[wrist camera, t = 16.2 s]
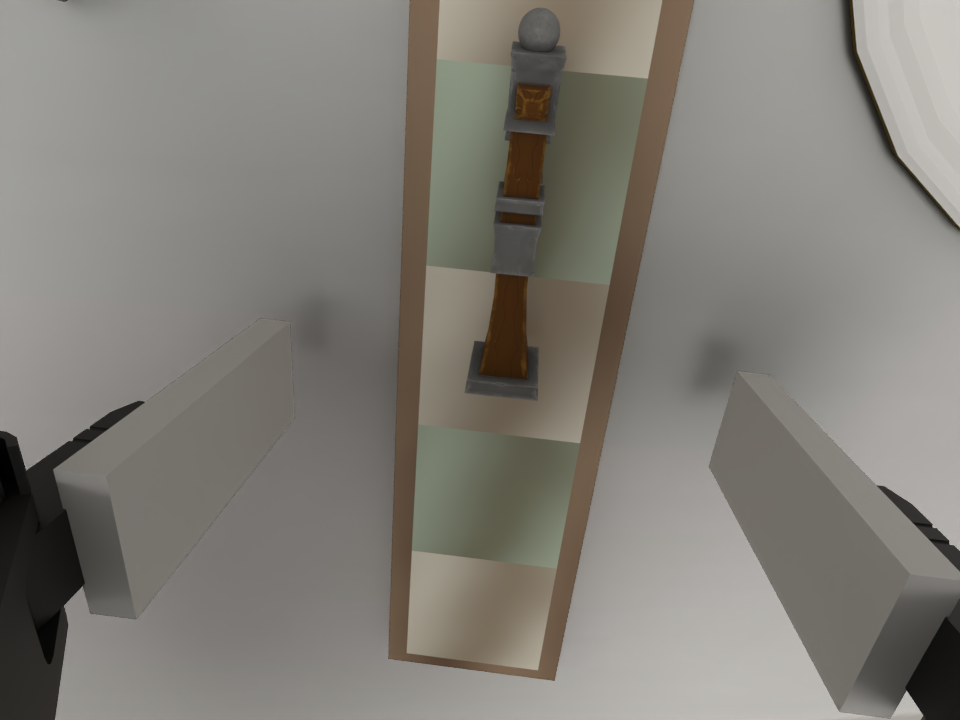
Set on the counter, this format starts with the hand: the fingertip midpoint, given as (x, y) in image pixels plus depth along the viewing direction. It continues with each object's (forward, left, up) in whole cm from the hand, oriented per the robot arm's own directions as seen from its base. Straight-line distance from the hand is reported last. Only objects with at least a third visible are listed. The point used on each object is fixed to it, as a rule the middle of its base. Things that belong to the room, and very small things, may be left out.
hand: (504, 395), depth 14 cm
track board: (0, 0, -3) cm, 3 cm away
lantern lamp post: (0, 0, -1) cm, 2 cm away
